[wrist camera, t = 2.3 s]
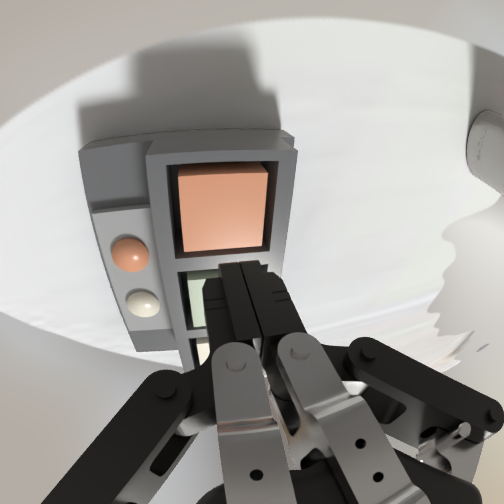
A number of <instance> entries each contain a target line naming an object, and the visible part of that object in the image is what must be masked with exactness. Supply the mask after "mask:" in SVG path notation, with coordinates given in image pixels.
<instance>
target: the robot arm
mask: <svg viewBox="0 0 504 504" xmlns="http://www.w3.org/2000/svg"><path fill="white" fill-rule="evenodd" d="M467 162H468V167H469V169H470V172H471V173H472V174H473V175H474V176H475V177H477V178H478V179H480V180H481V181H483V182H484V183H486V184H488V185H489V186H490V187H492V188H493V189H495V190H496V191H498V192H499V193H500V194H502V195H504V116H502V115H499V114H497V113H495V112H492V111H489V110H486V111H483V112H481V113H480V114H479V115H478V116H477V118H476V119H475V121H474V123H473V125H472V127H471V130H470V134H469V137H468V143H467ZM202 296H203V307H204V317H205V324H206V331H207V337H208V343H209V350H210V353H209V356H208V358H207V359H206V360H205V362H204V363H203V364H202V365H200V366H199V367H197V368H195V369H193V370H191V371H188V372H186V373H183V374H180V373H179V372H176V371H173V370H159V371H156V372H154V373H152V374H151V375H149V376H148V377H147V378H146V379H145V380H144V382H143V383H142V384H141V385H140V386H139V388H138V389H137V390H136V391H135V392H134V393H133V395H132V396H131V397H130V398H129V399H128V401H127V402H126V403H125V404H124V405H123V407H122V408H121V409H120V410H119V411H118V413H117V414H116V415H115V416H114V417H113V418H112V420H111V421H110V422H109V423H108V425H107V426H106V427H105V428H104V429H103V431H102V432H101V433H100V434H99V435H98V436H97V437H96V439H95V440H94V441H93V442H92V444H91V445H90V446H89V447H88V448H87V449H86V451H85V452H84V453H83V454H82V455H81V457H80V458H79V459H78V460H77V461H76V463H75V464H74V465H73V466H72V467H71V468H70V470H69V471H68V472H67V473H66V474H65V476H64V477H63V478H62V479H61V480H60V481H59V483H58V484H57V485H56V486H55V488H54V489H53V490H52V491H51V492H50V494H49V495H48V496H47V497H46V498H45V499H44V500H43V502H42V503H41V504H148V503H149V502H150V501H151V499H152V498H153V496H154V495H155V494H156V493H157V491H158V490H159V489H160V487H161V486H162V485H163V483H164V481H165V480H166V479H167V478H168V476H169V475H170V473H171V472H172V471H173V469H174V468H175V467H176V465H177V464H178V462H179V461H180V459H181V458H182V457H183V455H184V454H185V452H186V451H187V449H188V448H189V447H190V445H191V444H192V442H193V441H194V439H195V438H196V436H197V435H198V433H199V432H200V431H202V430H205V429H207V428H209V427H211V426H213V425H215V424H217V431H218V441H219V449H220V458H221V465H222V473H223V480H224V483H223V484H221V485H219V486H217V487H215V488H213V489H212V490H211V491H209V492H207V493H206V494H205V495H204V496H203V497H202V498H201V499H200V500H199V501H198V502H197V503H196V504H482V497H481V494H480V492H479V490H478V489H477V487H476V486H475V485H473V484H472V481H473V478H474V475H475V472H476V468H477V465H478V462H479V458H480V455H481V451H482V447H483V443H484V441H485V440H486V439H487V438H489V437H491V436H492V435H494V434H495V433H497V432H498V431H499V430H500V429H501V428H502V426H503V423H504V411H503V409H502V407H501V405H500V404H499V402H497V401H496V400H494V399H492V398H490V397H488V396H486V395H484V394H482V393H480V392H478V391H476V390H474V389H472V388H470V387H468V386H466V385H463V384H462V383H459V382H457V381H455V380H453V379H451V378H449V377H447V376H445V375H443V374H441V373H440V372H438V371H436V370H434V369H432V368H430V367H428V366H426V365H424V364H422V363H420V362H418V361H416V360H414V359H412V358H410V357H408V356H406V355H404V354H402V353H400V352H399V351H397V350H395V349H393V348H391V347H389V346H387V345H385V344H383V343H381V342H379V341H377V340H375V339H373V338H370V337H360V338H357V339H355V340H354V341H352V343H351V344H350V346H349V347H344V346H329V345H324V344H321V343H320V342H319V341H318V340H317V339H316V338H314V337H313V336H311V335H309V334H308V333H307V332H306V330H305V328H304V326H303V323H302V321H301V319H300V317H299V315H298V312H297V310H296V308H295V306H294V304H293V302H292V300H291V297H290V295H289V293H288V292H287V289H286V286H285V284H284V282H283V280H282V279H281V278H280V277H279V276H278V275H276V274H275V273H274V272H265V273H264V271H263V269H262V266H261V264H260V262H259V260H250V261H239V263H238V262H230V263H219V264H218V277H217V278H207V279H206V280H205V283H204V285H203V287H202ZM264 375H267V378H268V381H269V388H268V392H269V396H270V398H271V401H272V403H273V406H274V408H275V411H276V413H277V416H278V418H279V420H280V423H281V425H282V428H283V430H284V432H285V435H286V438H287V442H288V450H289V453H290V457H291V459H292V462H293V464H294V466H295V469H296V470H289V468H288V463H287V459H286V455H285V450H284V446H283V441H282V437H281V433H280V429H279V427H278V424H277V422H276V421H275V420H274V419H273V417H272V413H271V408H270V404H269V399H268V394H267V390H266V385H265V380H264ZM385 434H387V435H389V436H392V437H394V438H396V439H398V440H400V441H402V442H404V443H406V444H408V445H411V446H413V447H415V448H417V449H418V451H417V453H416V459H415V458H412V457H411V456H409V455H407V454H404V453H403V452H401V451H399V450H397V449H395V448H392V446H391V444H390V442H389V441H388V439H387V437H386V435H385Z"/></svg>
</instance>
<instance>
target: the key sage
mask: <svg viewBox="0 0 504 504" xmlns="http://www.w3.org/2000/svg"><path fill="white" fill-rule="evenodd" d="M217 277H218V269H207V270H195V271H187V280H188V288H189V296H190V303H191V310H192V317H193V324H194V327H201V326H206V324H205V317H204V307H203V296H202V287H203V285H204V283H205V280H206V279H207V278H217Z"/></svg>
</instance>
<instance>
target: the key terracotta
mask: <svg viewBox="0 0 504 504" xmlns="http://www.w3.org/2000/svg"><path fill="white" fill-rule="evenodd" d="M267 178H268V172H267V171H266V170H265V168H264V167H263V166H262V165H261V163H260V162H218V163H198V164H182V165H179V173H178V182H179V197H180V211H181V223H182V234H183V245H184V252H190V251H203V250H215V249H228V248H241V247H254V246H262V237H263V226H264V214H265V202H266V190H267Z"/></svg>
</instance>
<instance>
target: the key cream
mask: <svg viewBox="0 0 504 504" xmlns="http://www.w3.org/2000/svg"><path fill="white" fill-rule="evenodd" d="M196 342H197V349H198V355H199V361H200V365H202V364H203V363H204V362H205V360H206V359H207V358H208V356H209V353H210V350H209V343H208V337H199V338H196Z"/></svg>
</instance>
